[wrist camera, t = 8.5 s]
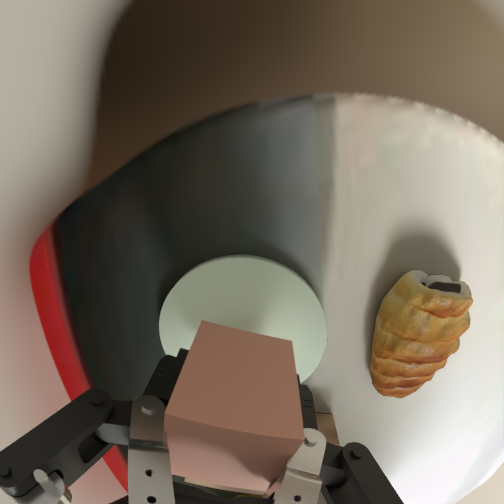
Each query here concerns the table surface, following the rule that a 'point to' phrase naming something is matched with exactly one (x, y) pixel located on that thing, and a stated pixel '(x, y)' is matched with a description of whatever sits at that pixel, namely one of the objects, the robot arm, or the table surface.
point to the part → (234, 409)
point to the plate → (246, 306)
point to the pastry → (417, 331)
